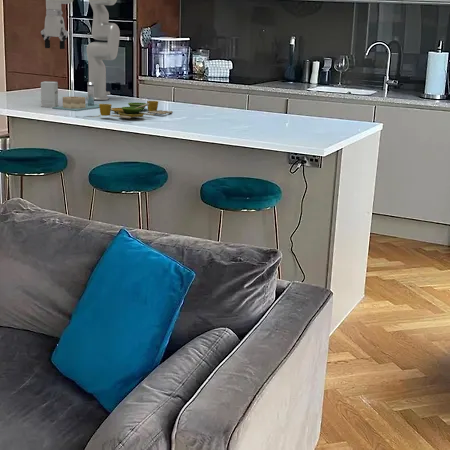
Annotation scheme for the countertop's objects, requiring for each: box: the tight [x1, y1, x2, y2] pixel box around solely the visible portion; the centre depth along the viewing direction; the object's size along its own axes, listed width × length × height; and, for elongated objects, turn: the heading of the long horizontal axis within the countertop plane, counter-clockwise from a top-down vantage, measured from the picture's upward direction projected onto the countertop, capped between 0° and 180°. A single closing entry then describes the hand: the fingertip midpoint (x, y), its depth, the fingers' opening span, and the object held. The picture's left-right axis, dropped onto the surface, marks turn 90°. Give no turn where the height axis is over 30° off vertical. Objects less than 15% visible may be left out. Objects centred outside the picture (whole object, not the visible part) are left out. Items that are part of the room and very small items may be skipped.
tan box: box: [62, 96, 87, 109], centre depth 375 cm, size 11×11×5 cm
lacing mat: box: [51, 102, 100, 112], centre depth 382 cm, size 30×15×1 cm, turn 153°
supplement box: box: [40, 81, 59, 108], centre depth 380 cm, size 7×7×13 cm
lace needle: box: [87, 81, 95, 106], centre depth 386 cm, size 3×3×12 cm
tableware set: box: [98, 100, 173, 119], centre depth 368 cm, size 41×28×6 cm
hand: (54, 48), depth 373 cm, fingers open, 9 cm apart
